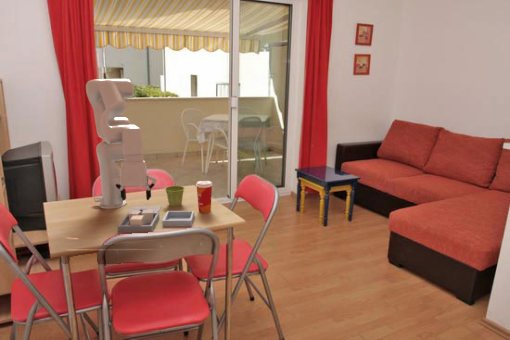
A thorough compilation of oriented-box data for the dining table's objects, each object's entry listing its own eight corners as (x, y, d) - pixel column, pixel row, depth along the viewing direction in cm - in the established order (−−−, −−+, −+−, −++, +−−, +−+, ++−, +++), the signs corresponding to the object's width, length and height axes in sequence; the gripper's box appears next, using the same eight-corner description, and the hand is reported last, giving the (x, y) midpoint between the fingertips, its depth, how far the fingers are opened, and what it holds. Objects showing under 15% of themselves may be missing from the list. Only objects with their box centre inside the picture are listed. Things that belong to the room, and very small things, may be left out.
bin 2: (162, 227, 168) (162, 220, 168) (167, 217, 180) (167, 211, 179) (191, 227, 169) (191, 220, 168) (194, 217, 181) (194, 210, 180)
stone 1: (129, 222, 172) (128, 213, 171) (133, 219, 176) (132, 210, 175) (138, 223, 171) (137, 214, 170) (141, 219, 175) (141, 211, 174)
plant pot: (187, 202, 201) (186, 185, 199) (182, 208, 192) (181, 191, 190) (169, 201, 202) (168, 185, 200) (163, 208, 192) (162, 190, 190)
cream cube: (130, 229, 164) (130, 219, 163) (133, 225, 168) (132, 215, 167) (141, 229, 164) (141, 219, 163) (144, 225, 169) (143, 215, 168)
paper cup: (197, 208, 192) (196, 180, 189) (213, 208, 193) (212, 180, 189) (196, 214, 184) (195, 184, 181) (212, 213, 185) (212, 184, 182)
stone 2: (142, 223, 171) (142, 213, 170) (143, 219, 175) (142, 209, 174) (153, 222, 172) (152, 212, 171) (154, 218, 176) (153, 209, 175)
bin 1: (118, 233, 162) (117, 226, 161) (128, 219, 177) (128, 212, 177) (152, 233, 162) (151, 226, 162) (159, 219, 178) (159, 212, 177)
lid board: (124, 218, 178) (124, 214, 178) (132, 208, 192) (132, 204, 191) (155, 218, 179) (155, 214, 178) (161, 207, 192) (161, 204, 192)
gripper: (108, 160, 155) (111, 202, 159) (153, 159, 156) (155, 201, 160) (114, 156, 163) (117, 197, 166) (157, 156, 163) (159, 196, 167)
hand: (136, 199), depth 163 cm, fingers open, 9 cm apart
